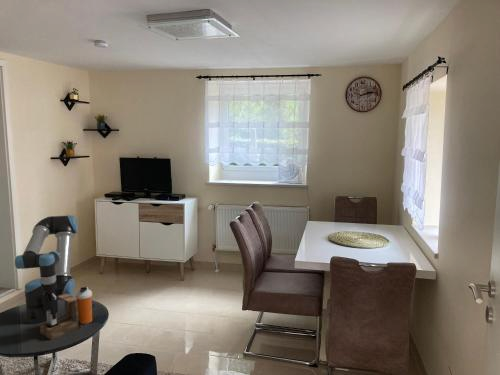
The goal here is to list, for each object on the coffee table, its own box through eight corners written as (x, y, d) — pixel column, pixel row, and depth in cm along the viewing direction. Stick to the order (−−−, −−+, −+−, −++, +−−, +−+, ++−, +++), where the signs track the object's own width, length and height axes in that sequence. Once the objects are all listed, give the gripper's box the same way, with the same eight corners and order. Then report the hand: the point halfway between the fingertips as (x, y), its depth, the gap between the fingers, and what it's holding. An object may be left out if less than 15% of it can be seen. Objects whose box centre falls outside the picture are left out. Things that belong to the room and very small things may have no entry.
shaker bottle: (77, 326, 235) (75, 292, 232) (77, 319, 243) (75, 287, 240) (94, 323, 238) (92, 290, 236) (93, 316, 247) (91, 285, 244)
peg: (47, 330, 226) (45, 310, 224) (54, 328, 229) (52, 308, 227) (50, 332, 224) (49, 312, 222) (57, 330, 227) (56, 309, 225)
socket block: (40, 333, 227) (37, 302, 225) (68, 322, 240) (66, 293, 237) (51, 339, 220) (48, 308, 217) (79, 328, 232) (76, 298, 230)
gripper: (34, 281, 225) (38, 321, 228) (49, 288, 214) (52, 330, 218) (48, 277, 230) (51, 316, 234) (63, 283, 220) (66, 324, 223)
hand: (52, 323), depth 226 cm, fingers closed on peg, 4 cm apart
